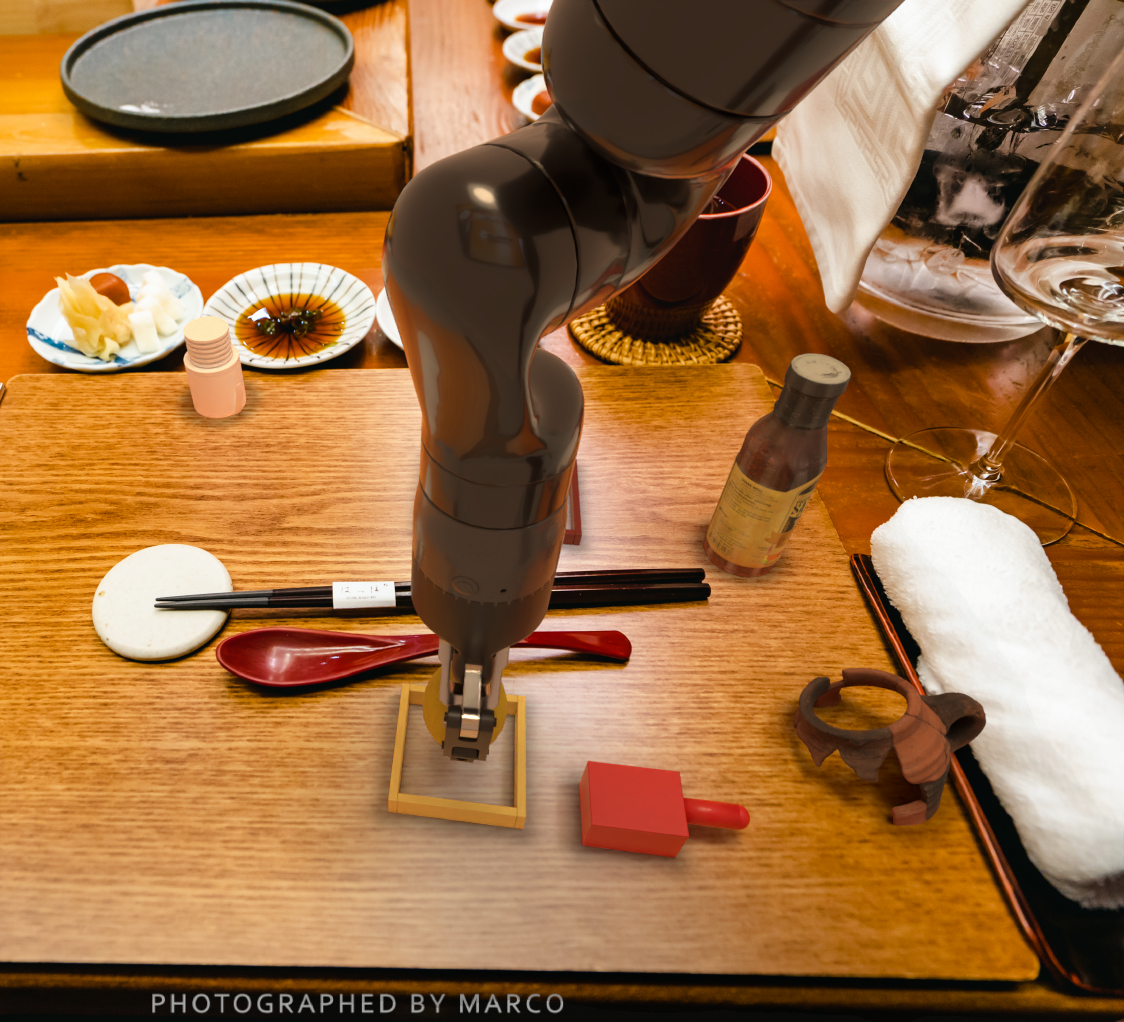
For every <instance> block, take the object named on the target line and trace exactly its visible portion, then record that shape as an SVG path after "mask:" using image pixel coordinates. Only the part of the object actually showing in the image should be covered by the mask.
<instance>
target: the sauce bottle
mask: <svg viewBox="0 0 1124 1022" xmlns="http://www.w3.org/2000/svg"><path fill="white" fill-rule="evenodd" d="M851 377H852V373H851V370H850V367H848V366H847V365H846V364H845V363H843V362H842V361H841V360H838V359H836V358H835V357H832V356H829V355H826V354H821V353H802V354H799V355H797V356H794V357H793V359H791V360H790V363H789V365H788V367H787V370H786V372H785V373H784V379H783V383H784V385H783V387H782V389H781V391H780V393H779V396H778V399H777V400H776V401H775V402H774V404H773V409H772V410H771V411H770V412H769V413H767V414H765V415H763V416H761V417H760V418H758V419H757V420H756V421H755V422H754V423H753V424H752V425H751V426H750V427H749V429H748V430H747V432H746V433H745V437H744V439H743V442H742V444H741V447H740V449H739V451H738V453H736V455H735V458H734V460H733V463H732V466H731V468H730V471H729V474H728V476H727V478H726V481H725V483H724V486H723V487H722V491H721V493H720V496H719V498H718V501H717V504H716V505H715V508H714V512H713V514H712V517H711V518H710V522H709V524H708V526H707V530H706V531H705V532H706V533H705V534H706V536H705V538H704V541H703V549H704V552H705V554H706V556H707V557H708V558H709V560H711V562H712V563H713V564H714V565H715V566H716V567H717V568H718V569H719V570H721V571H724V572H726V573H728V574H731V575H733V576H737V577H739V578H753V577H754V578H755V577H759V576H764V575H765V576H766V574H768V572H770V571H771V570H772V568H773V567H774V566H775V564H776V563H777V562H778V561H779V560H780V559H781V557H782V554H783V552H784V551H785V548H786V546H787V545H788V542H789V541H790V538H791V536H792V534H793V533H794V531H795V529H796V527H797V525H798V523H799V521H800V519H801V517H802V515H803V513H804V511H805V510H806V507H807V506H808V504H809V502H810V499H811V497H812V494H814V491H815V489H816V487H817V485H818V483H819V480H820V479H821V477H822V475H823V473H824V471H825V469H826V467H827V463H828V423H829V421H830V418H831V415H832V412H833V410H834V408H835V406H836V405H837V402H838V399H839V397H841V396H842V395H843V394H844V393H845V392H846V390H847V387H848V385H849V382H850V381H851Z"/></svg>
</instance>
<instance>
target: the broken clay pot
mask: <svg viewBox="0 0 1124 1022" xmlns="http://www.w3.org/2000/svg"><path fill="white" fill-rule="evenodd" d="M841 677H842V679H841V680H836V681H833V682H831V678H830V677H829V676H817V677H815V678H814V679H812V680H810V681H809V682H808V684H807V685H806V686H805V687H804V688H802V691H801V692H800V694H799V698H798V704H799V706H798V708H797V709H796V711H795V713H794V717H793V728H794V729H795V735H796V736H797V738H798V739H799V740H800V741H802V743H803V744H804V745H805V746H806V748H807V750H808V753H809V754H810V756H811V759H812V761H813V763H814V764H815V766H816V768H821V767H822V765H823V762H825V760H826V759H827V758H828V757H830V756H831V755H833V754H834V752H836V751H837V750H838V754H839V757H840V759H841V760H842V761H843V762H844V764H845V765H847V766H848V767H849V768H850V769H851V770H853V772H854V773H855V775H856V776H857V777H858V778H859V779H860V780H863V781H866V782H870V783H877V782H879V769H880V768H881V767H882V765H883V764H884V761H885V759H886V757H887V755H888V754H889V753H890V751H891V750H892V751H893V752H894V754H895V756H896V757H897V759H898V762H899V767H900V772H901V775H902V777H903V778H904V779H905V780H906V781H907V782H908V783H909V784H911V785H919V786H918V787H919V788H920V792H921V795H920V798H919V799H917V800H914V801H912V802H908V803H906V804H902V805H898V806H893V807H892V808H891V811H890V812H891V816H892V824H893V825H894V826H916V825H917V826H918V825H920V824H923V823H925V822H926V821H929V820H930V819H931V818H932V817H934V816H935V814H937V811H938V809H939V807H940V805H941V799H942V797H943V796H942V795H943V793H944V788H945V785H946V783H947V777H948V775H949V772H950V767H951V760H952V759H951V758H952V754H953V753H954V752H955V751H957V750H959V749H961V748H963V747H965V746H967V745H968V744H970V743H972V742H973V741H974V740H975V739H976V738H977V737H978V736H979V735H980V734H981V733H982V732H984V729H985V727H986V725H987V717H986V714H987V713H986V712H985V708H984V706H983V705H982V704H981V703H980V702H979V701H977V700H976V699H974V698H973V697H971V696H970V695H968V694H966V693H962V692H956V691H955V692H953V691H952V692H944V693H938V694H932V695H925V694H920V693H919V691H918V690H917V688H915V687H914V685H913V684H912V683H910V682H909V681H908V680H906V679H904V678H903V677H901V676H900V675H899V676H898V675H897V674H895V673H891V672H888V671H885V670H881V669H878V668H870V667H848V668H844V669H843V668H842V670H841ZM852 687H853V688H854V687H873V688H880V689H884V690H889V691H892V692H894V693H897V694H899V695H900V696H902V697H903V699H905V700H906V703H907V706H906V710H905V712H903V713H904V714H903V715H902V716H900V718H899V719H897V720H895V721H894V722H892V723H891V724H888V725H887V726H886V727H881V728H875V729H870V730H850V729H843V728H840V727H836V726H833V725H831V724H829V723H827V722H826V721H824V720H822V719H821V718H819V716H817V715H816V713H815V711H814V705H815V706H816V707H818V708H820V709H822V708H829V707H835V706H837V705H839V703H840V702H841V701H842V695H841V690H842V689H846V688H852Z"/></svg>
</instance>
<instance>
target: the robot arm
mask: <svg viewBox="0 0 1124 1022" xmlns="http://www.w3.org/2000/svg"><path fill="white" fill-rule="evenodd" d="M905 1H906V0H552V2H551V4H550V7H549V10H548V13H547V16H546V19H545V23H544V26H543V31H542V37H541V45H540V63H541V72H542V78H543V81H544V84H545V88H546V91H547V94H548V97H549V99H550V101H551V104H550V106H548V107H547V109H546V110H545V111H544V112H543V113H542V114H541V115H540V116H539V117H538V118H537V119H536V120H535V121H534V122H532V123H531V124H528V125H525V126H523V127H521V128H518V129H516V130H513V131H510V132H507V133H506V134H503V135H500V136H497V137H494V138H493V139H490V140H487V141H485V142H482V143H479V144H477V145H473V146H471V147H469V148H466V149H463V150H461V151H458V152H456V153H453V154H451V155H448V156H445V157H444V158H441V159H438V160H436V161H434V162H432V163H431V164H429V165H427V166H425V168H423V169H422V170H420V171H419V172H417V173H416V174H415V175H414V176H413V177H412V178H411V179H410V180H409V182H407V184H406V185H405V186H404V187H403V189H402V191H401V192H400V194H399V196H398V197H397V199H396V201H395V203H394V206H393V207H392V210H391V212H390V215H389V218H388V222H387V225H386V228H385V231H384V237H383V243H382V249H381V272H382V281H383V287H384V290H385V295H386V299H387V302H388V305H389V309H390V311H391V315H392V318H393V320H394V323H395V326H396V329H397V332H398V334H399V339H400V340H401V344H402V348H403V351H404V355H405V358H406V362H407V366H408V369H409V373H410V376H411V380H412V383H413V387H414V390H415V393H416V397H417V401H418V404H419V408H420V411H421V422H420V423H421V425H420V450H419V451H420V455H419V456H420V457H419V473H418V474H419V475H418V481H417V486H416V490H415V494H414V499H413V508H412V535H411V537H412V538H411V539H412V540H411V569H410V571H411V572H410V597H411V601H412V605H413V608H414V610H415V612H416V614H417V616H418V617H419V619H420V620H421V622H422V623H423V624H424V625H425V626H426V628H428V629H429V630H430V631H431V632H432V633H433V634H435V635H436V636H437V637H439V638H438V639H439V640H438V652H437V659H438V660H439V662H440V663H441V666H442V669H441V681H440V693H439V699H440V701H441V702H442V703H443V704H445V705H446V706H447V711H446V712H445V714H444V718H443V727H445V738H444V741H443V740H442V743H441V745H440V750H443V751H442V752H443V753H442V756H443V757H448V758H449V761H454V762H461V763H462V762H463V763H470V764H473V763H474V761H481V762H486V760H487V757H488V756H489V755H490V746H491V745H490V742H491V739H492V735H493V729H494V727H496V724H497V717H494V710H492V709H495V708H496V707H497V706H498V704H499V696H500V687H501V682H502V677H503V671H504V670H505V669H506V668H507V667H508V663H509V659H510V658H509V657H510V649H511V646H514V645H516V644H518V643H520V642H522V641H524V640H525V639H527V638H529V636H531V635H532V634H533V633H535V631H536V630H537V629H538V628H539V626H540V625H541V624H542V622H543V621H544V619H545V617H546V614H547V612H548V608H549V604H550V600H551V595H552V591H553V587H554V583H555V578H556V574H557V569H558V567H559V566H558V565H559V562H560V557H561V553H562V548H563V545H564V544H563V540H564V536H565V531H566V529H567V526H568V525H567V524H568V516H569V515H568V514H569V513H568V512H569V496H570V490H569V488H570V483H571V479H572V475H573V470H574V466H575V461H576V459H577V457H578V452H579V449H580V444H581V439H582V435H583V429H584V424H585V423H584V421H585V405H586V401H585V395H584V391H583V387H582V384H581V382H580V380H579V378H578V376H577V374H576V372H575V371H574V370H573V368H572V367H571V366H570V365H568V363H567V362H565V361H564V360H563V359H562V358H561V357H560V356H557V355H556V354H554V353H552V352H550V351H549V350H546V349H544V348H541V347H539V344H540V342H541V341H542V339H544V338H546V337H547V336H549V335H551V334H553V333H554V332H556V331H558V330H559V329H561V328H563V327H565V326H567V325H568V324H570V323H572V322H574V321H575V320H577V319H579V318H581V317H582V316H584V315H586V314H587V313H590V312H592V311H593V310H596V309H597V308H599V307H600V306H602V305H604V304H606V303H608V302H609V301H611V300H612V299H614V298H616V297H617V296H619V295H620V294H622V293H624V292H625V291H626V290H628V289H629V288H631V286H632V285H634V284H635V283H636V282H637V281H638V280H640V279H641V278H642V277H644V276H645V275H646V274H647V273H648V272H649V271H650V270H651V269H652V268H654V267H655V266H656V265H657V264H658V263H659V262H660V261H661V260H662V259H663V258H664V257H665V256H666V255H667V254H669V252H670V251H671V250H672V249H673V248H674V247H675V246H676V245H677V243H678V242H680V240H681V239H682V238H683V237H684V236H685V234H686V233H687V232H688V231H689V230H690V229H691V228H692V225H694V224H695V222H696V221H697V220H698V218H699V217H700V216H701V215H702V213H703V212H704V211H705V209H706V208H707V207H708V206H709V204H710V203H711V202H712V200H713V199H714V198H715V196H716V195H717V193H718V192H719V191H720V190H721V189H722V188H723V186H724V185H725V184H726V182H727V181H728V179H729V178H730V176H731V175H732V173H733V172H734V170H735V169H736V167H737V166H738V164H739V162H740V161H741V160H742V158H743V156H744V155H745V153H746V152H747V151H748V150H749V149H750V148H751V147H752V146H754V145H755V144H756V143H757V142H759V141H760V140H761V139H762V138H763V137H764V136H766V135H767V134H768V133H769V132H770V131H772V129H774V128H775V127H776V126H777V125H779V123H781V122H782V121H783V120H784V119H785V118H786V117H787V116H788V115H790V113H792V111H793V110H794V109H795V108H796V107H797V106H799V105H800V103H802V102H803V101H804V100H805V99H806V98H807V97H808V96H809V95H810V94H812V92H813V91H814V90H815V89H816V88H817V87H819V86H820V84H822V83H823V82H824V80H825V79H826V78H828V77H829V76H830V75H831V74H832V73H833V72H834V71H835V70H836V69H837V68H838V67H839V66H840V65H841V64H842V63H843V62H844V61H845V60H847V58H848V57H850V55H851V54H853V52H854V51H855V50H856V49H857V48H858V47H859V46H861V44H863V42H865V41H866V40H867V38H868V37H870V36H871V34H873V33H874V32H875V31H876V30H877V29H878V28H879V27H880V26H881V25H882V24H883V23H884V22H886V20H887V19H888V18H889V17H890V16H891V15H892V14H893V13H894V12H895V11H896V10H897V9H898V8H900V6H901V5H903V3H904V2H905ZM452 660H453V661H452ZM451 661H452V674H453V677H454V679H455V680H456V681H457V682H458V683H457V682H454V681H452V680H451V678H450V668H451ZM460 705H461V706H460ZM1115 1022H1124V1018H1122V1019H1119V1020H1116V1021H1115Z"/></svg>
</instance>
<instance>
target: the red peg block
mask: <svg viewBox="0 0 1124 1022" xmlns="http://www.w3.org/2000/svg"><path fill="white" fill-rule="evenodd" d="M578 787H579V789H578V790H579V807H580V826H581V827H580V828H581V844H582V846H583V847H592V848H597V849H598V848H600V849H607V850H612V851H613V850H614V851H621V852H630V853H637V854H645V855H651V856H661V857H666V858H667V857H668V858H676V857H677V856H678V855H679V852H680V851H681V850H682V849H683V847H684V845H685V844H686V843H687V840H688V839H689V838H690V834H689V833H690V832H689V826H688V825H696V826H703V827H712V828H719V829H726V830H727V829H728V830H736V831H741V830H745V829H746V828H748V826H749V825H750V822H751V814H750V812H749V811H748V809H747V808H746V807H745V806H743V805H741V804H739V803H734V802H725V801H718V800H710V799H700V798H695V797H694V798H693V797H685V796H684V792H683V785H682V779H681V772H680V771H677V770H670V769H660V768H654V767H653V768H652V767H644V766H635V765H627V764H626V765H625V764H618V763H611V762H600V761H592V760H587V761H586V764H585V767H584V770H583V772H582V775H581V777H580V781H579V783H578Z"/></svg>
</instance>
